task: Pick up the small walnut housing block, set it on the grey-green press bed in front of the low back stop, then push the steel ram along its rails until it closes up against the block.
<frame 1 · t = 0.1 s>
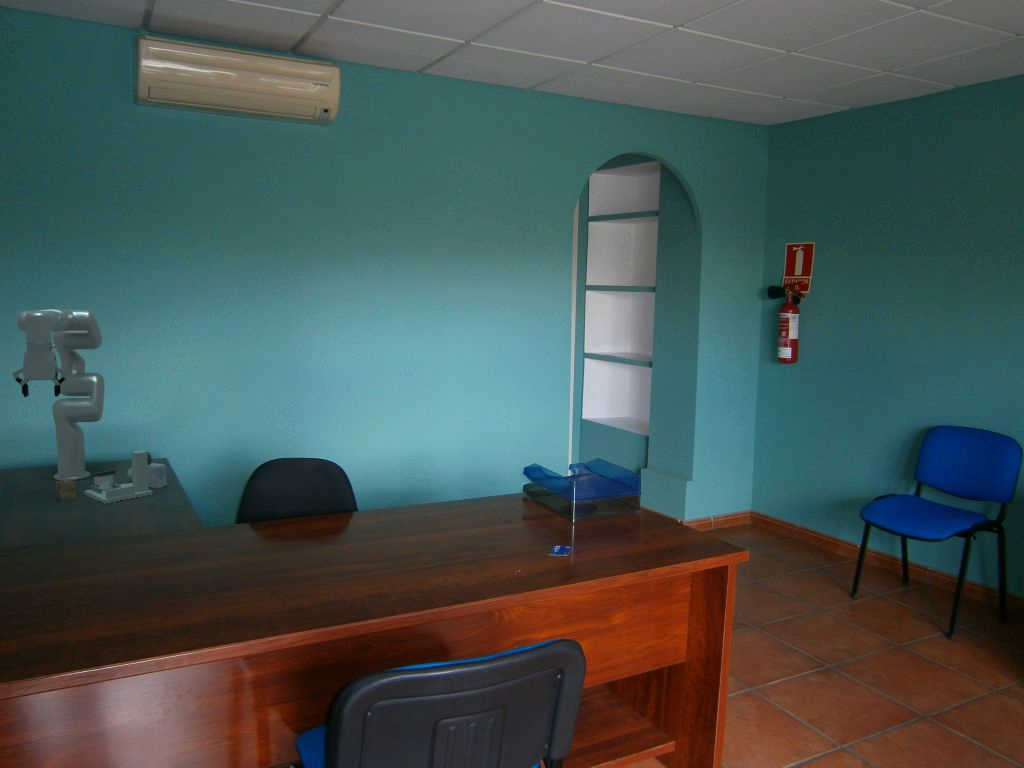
hand: (41, 396, 278), 37 cm above the table, tool pointing down, fingers open, 9 cm apart
ram: (103, 480, 292), point 5 cm above the table, slide at 0.0 cm
medicine box: (154, 487, 303), on the table
housing: (66, 498, 285), on the table
air freshener: (141, 482, 310), on the table
press: (116, 498, 286), on the table
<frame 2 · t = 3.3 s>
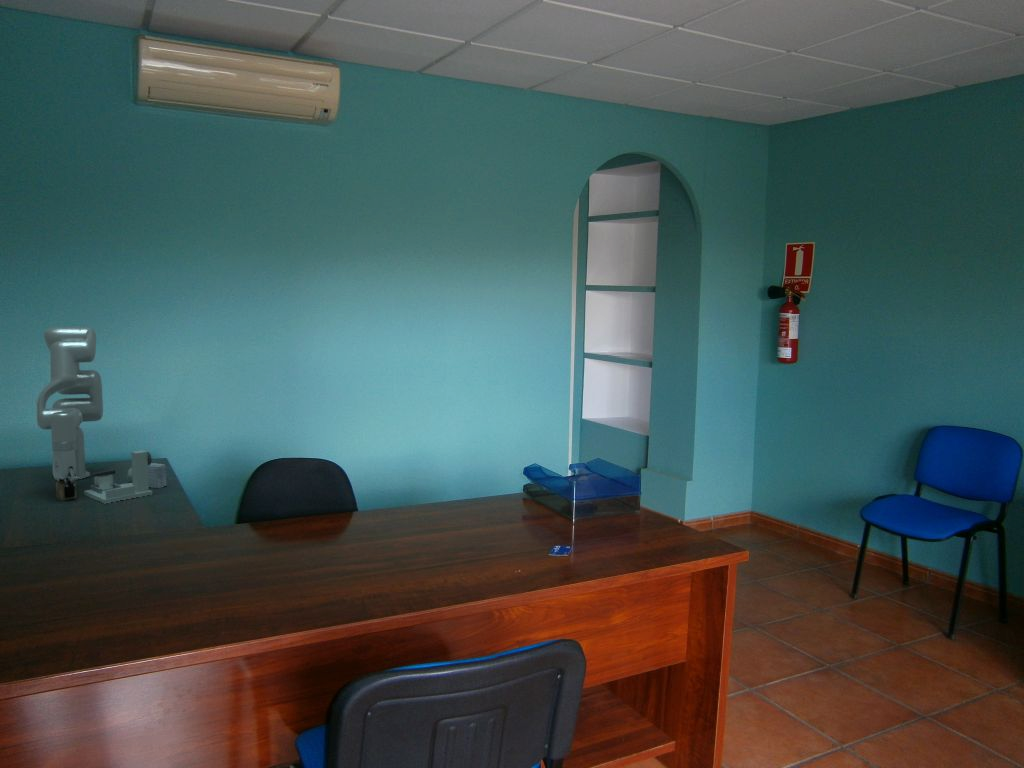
hand: (66, 495, 285), 1 cm above the table, tool pointing down, fingers closed on housing, 5 cm apart
housing: (66, 497, 285), on the table, touching gripper
everything else where it was.
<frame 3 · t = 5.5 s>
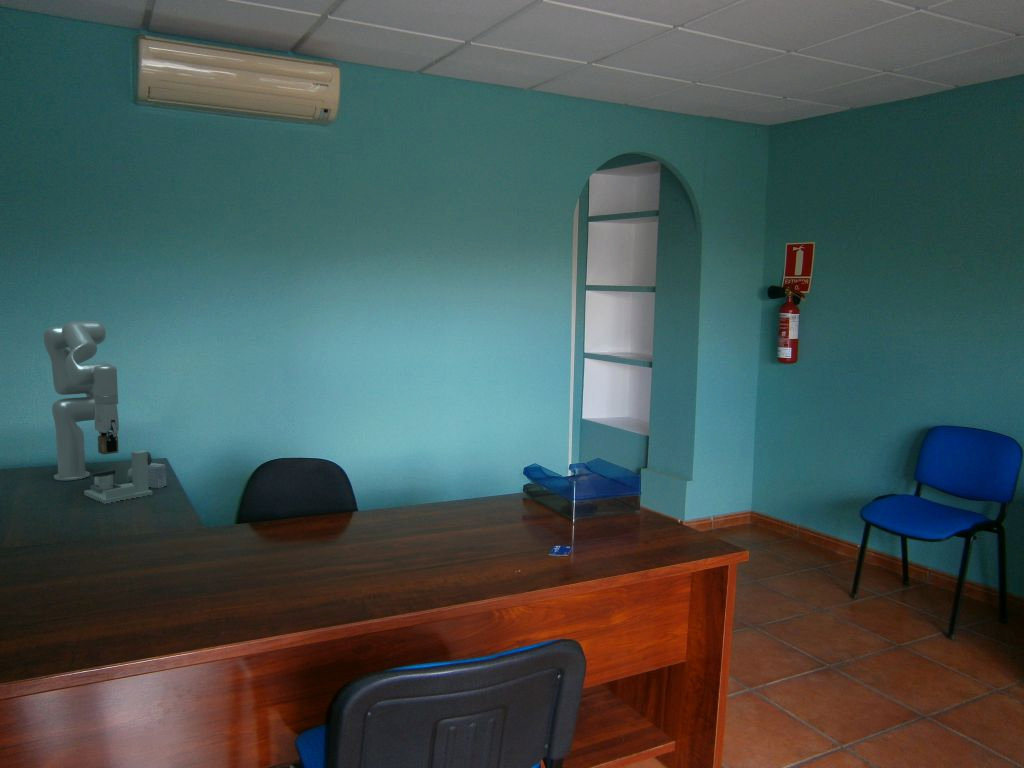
hand: (108, 449, 284), 18 cm above the table, tool pointing down, fingers closed on housing, 5 cm apart
housing: (108, 452, 284), point 17 cm above the table, touching gripper
everything else where it was.
when the fingers open (4 cm above the table, at t = 8.1 s): housing drops 2 cm, resting on press.
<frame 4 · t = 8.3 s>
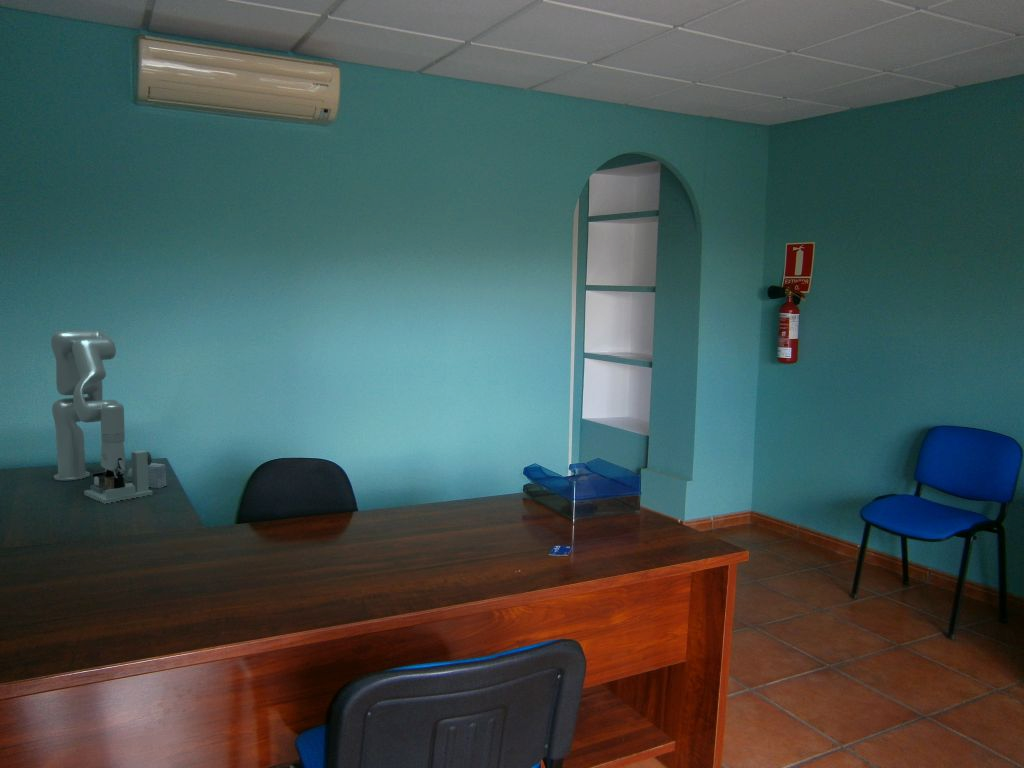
hand: (114, 485, 286), 4 cm above the table, tool pointing down, fingers open, 6 cm apart
housing: (115, 494, 286), point 1 cm above the table, touching press
everything else where it was.
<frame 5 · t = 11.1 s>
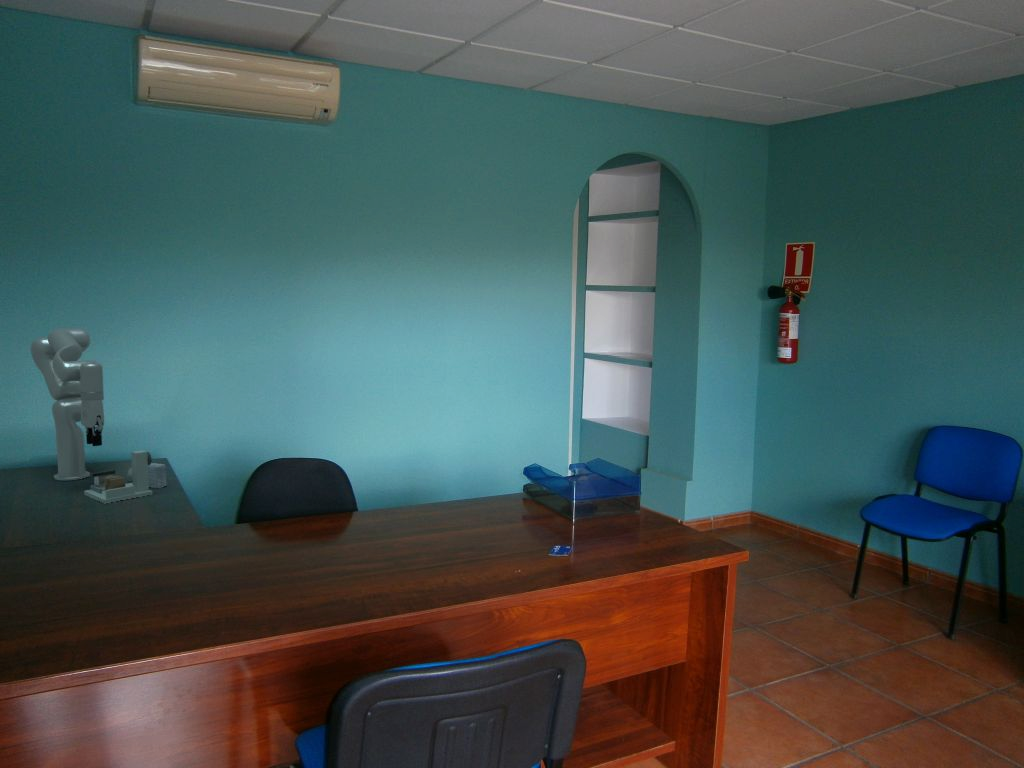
hand: (94, 444, 295), 17 cm above the table, tool pointing down, fingers open, 4 cm apart
nothing on the table moved.
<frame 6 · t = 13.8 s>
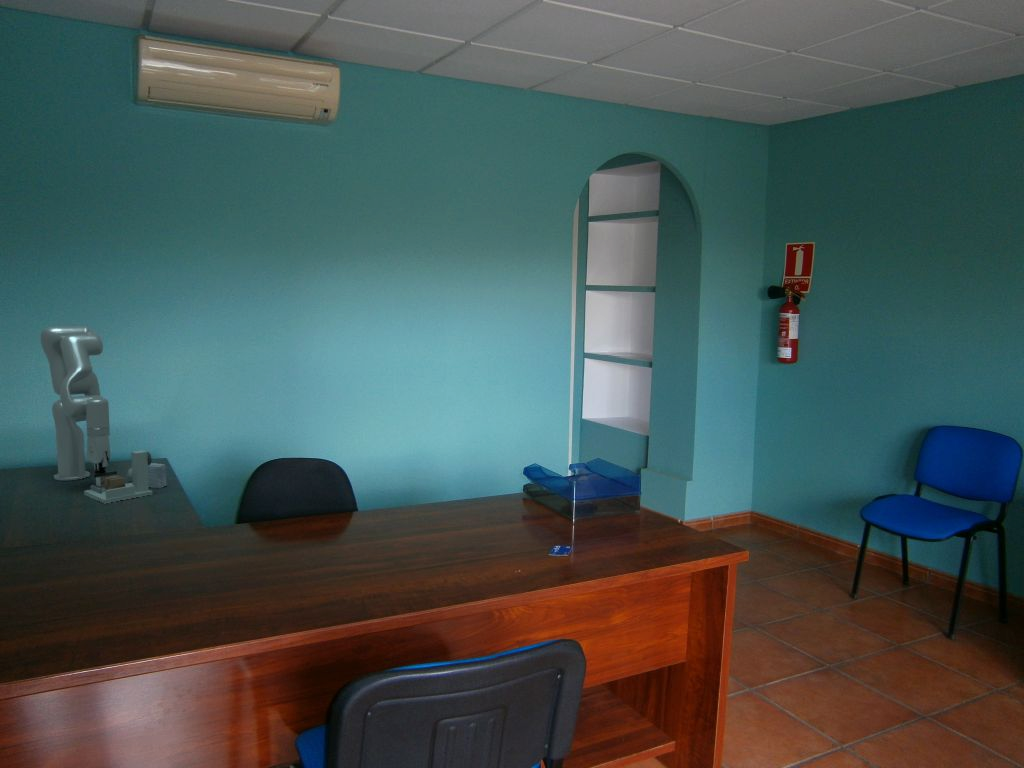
hand: (100, 480, 294), 4 cm above the table, tool pointing down, fingers closed
ram: (105, 480, 291), point 5 cm above the table, slide at 1.3 cm, touching gripper
everything else where it was.
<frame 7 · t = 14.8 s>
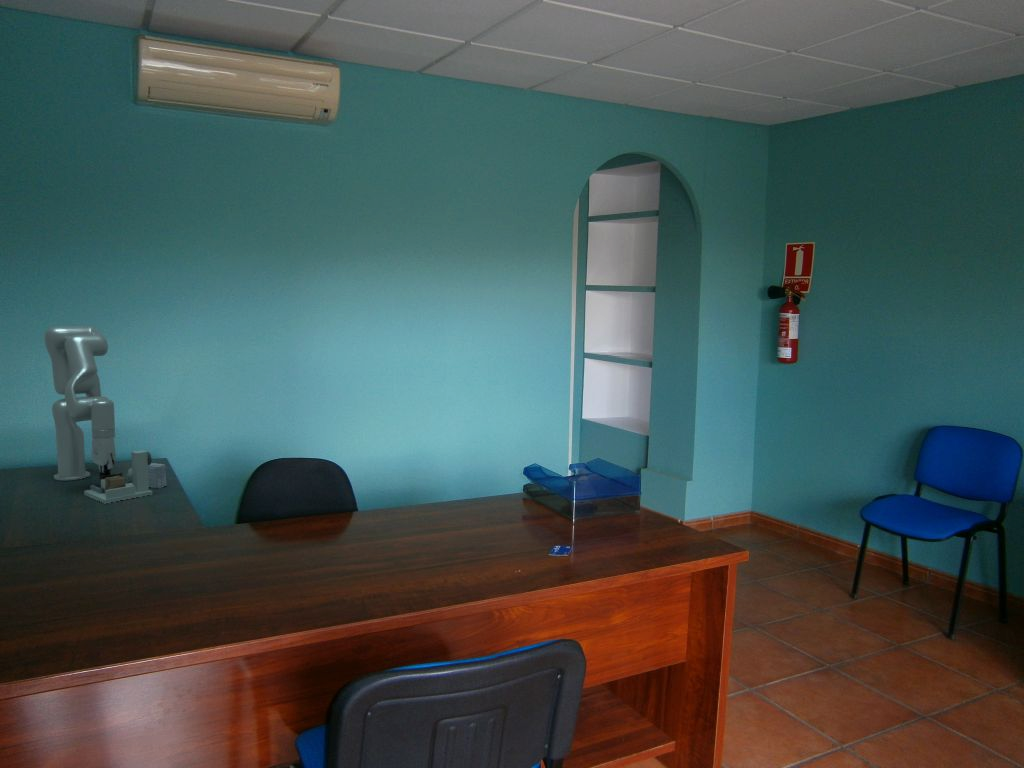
hand: (105, 482, 291), 4 cm above the table, tool pointing down, fingers closed
ram: (110, 482, 288), point 5 cm above the table, slide at 5.6 cm, touching gripper, housing
housing: (115, 494, 286), point 1 cm above the table, touching press, ram
everything else where it was.
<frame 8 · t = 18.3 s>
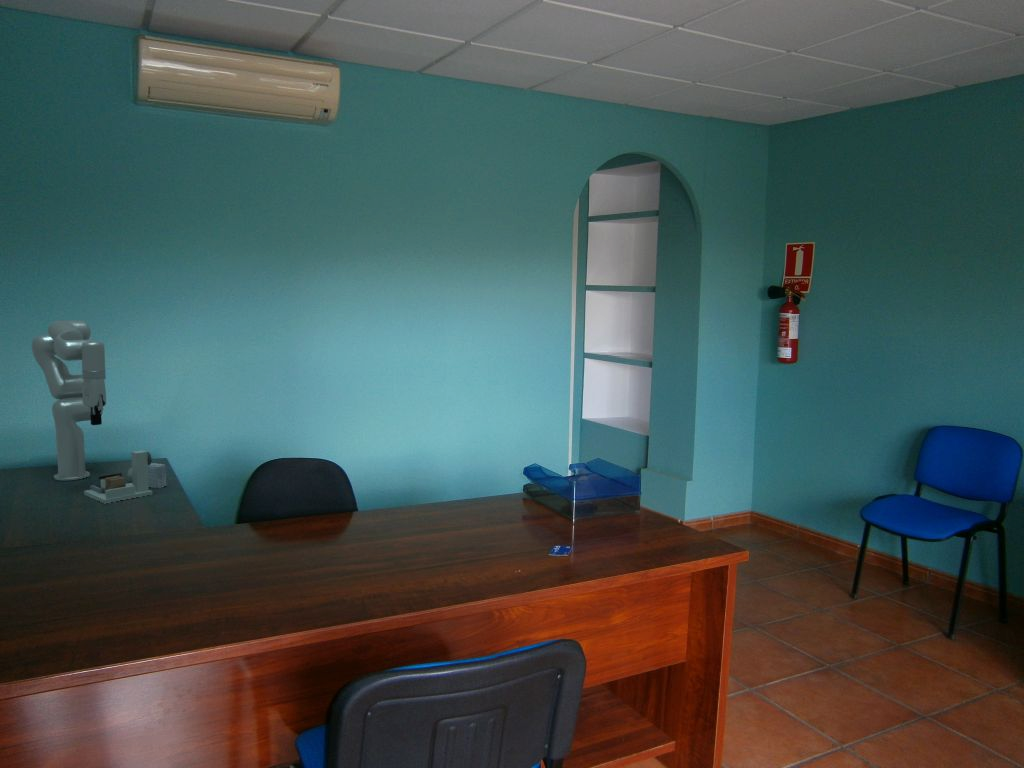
hand: (96, 424, 293), 25 cm above the table, tool pointing down, fingers closed
ram: (110, 482, 289), point 5 cm above the table, slide at 5.5 cm
housing: (115, 494, 286), point 1 cm above the table, touching press
everything else where it was.
at the end: housing inside the target area on the press (0.0 cm from its centre), point 1.5 cm above the press's base; housing tilted 0°; ram slide at 5.5 cm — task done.
